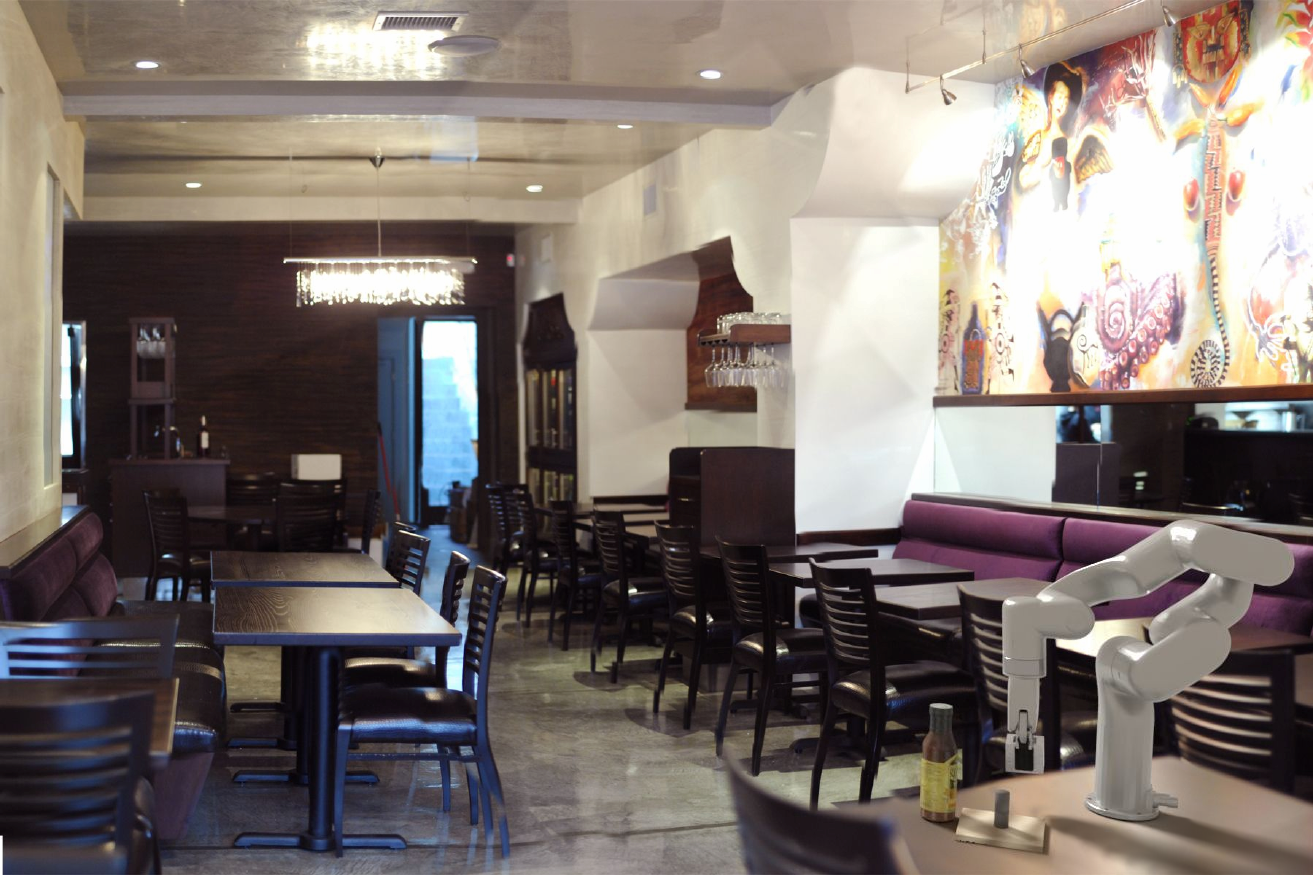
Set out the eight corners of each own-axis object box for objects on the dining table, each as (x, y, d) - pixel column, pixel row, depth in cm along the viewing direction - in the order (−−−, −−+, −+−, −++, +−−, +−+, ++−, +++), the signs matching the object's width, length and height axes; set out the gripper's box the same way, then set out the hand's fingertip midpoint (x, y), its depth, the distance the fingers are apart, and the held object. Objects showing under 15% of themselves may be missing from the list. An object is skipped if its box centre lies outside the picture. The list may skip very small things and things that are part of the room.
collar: (1044, 763, 220) (1043, 736, 220) (1043, 774, 214) (1042, 746, 214) (1007, 760, 222) (1007, 733, 222) (1005, 771, 216) (1005, 743, 216)
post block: (1044, 824, 211) (1046, 784, 211) (1042, 852, 198) (1044, 810, 197) (962, 812, 215) (964, 774, 215) (955, 839, 202) (956, 798, 202)
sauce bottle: (956, 825, 209) (961, 712, 208) (919, 821, 210) (924, 709, 210) (954, 812, 216) (959, 702, 215) (919, 809, 217) (923, 699, 216)
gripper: (1005, 654, 226) (1006, 748, 227) (999, 676, 210) (1000, 777, 211) (1047, 656, 224) (1047, 751, 225) (1044, 678, 208) (1045, 781, 209)
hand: (1025, 763), depth 218 cm, fingers closed on collar, 6 cm apart
